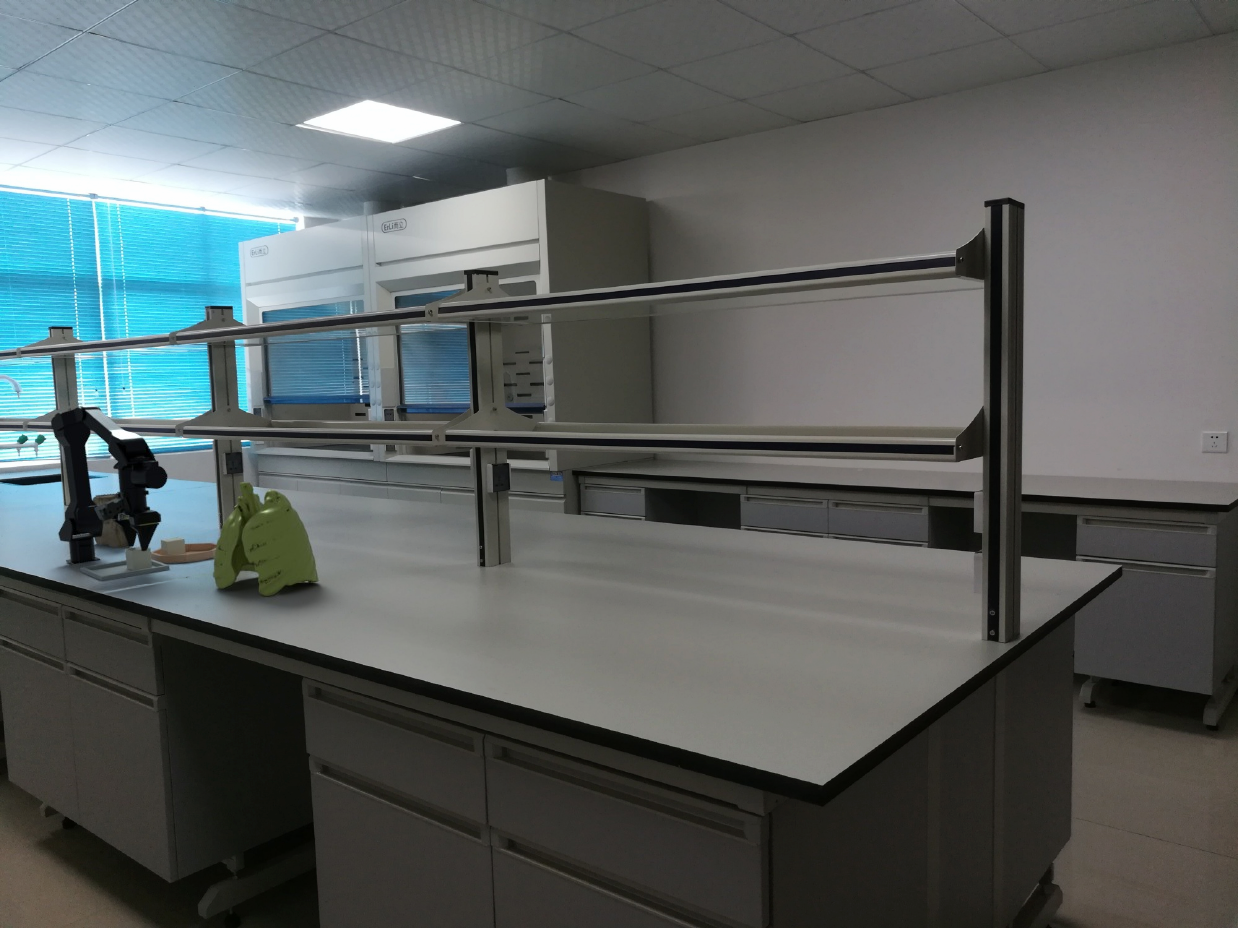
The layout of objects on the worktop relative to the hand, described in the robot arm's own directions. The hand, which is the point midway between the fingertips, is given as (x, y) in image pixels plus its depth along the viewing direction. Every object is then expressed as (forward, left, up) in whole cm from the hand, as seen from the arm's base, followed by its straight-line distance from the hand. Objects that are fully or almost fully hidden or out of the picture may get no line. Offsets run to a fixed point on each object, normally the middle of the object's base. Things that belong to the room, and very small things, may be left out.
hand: (137, 548), depth 224 cm
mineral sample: (-45, +7, -6) cm, 46 cm away
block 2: (-5, +10, -5) cm, 12 cm away
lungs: (+44, +12, -6) cm, 46 cm away
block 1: (0, 0, -5) cm, 5 cm away
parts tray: (0, -3, -5) cm, 6 cm away
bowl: (-5, +14, -5) cm, 15 cm away
